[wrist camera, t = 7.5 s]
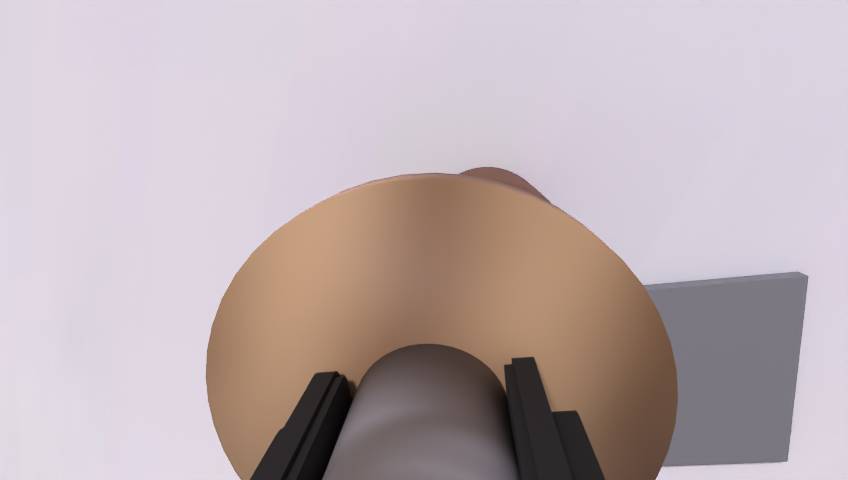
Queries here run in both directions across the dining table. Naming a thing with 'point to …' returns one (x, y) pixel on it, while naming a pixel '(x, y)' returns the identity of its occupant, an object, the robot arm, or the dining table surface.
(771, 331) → the rubber mat
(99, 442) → the dining table surface
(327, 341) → the copper lid
